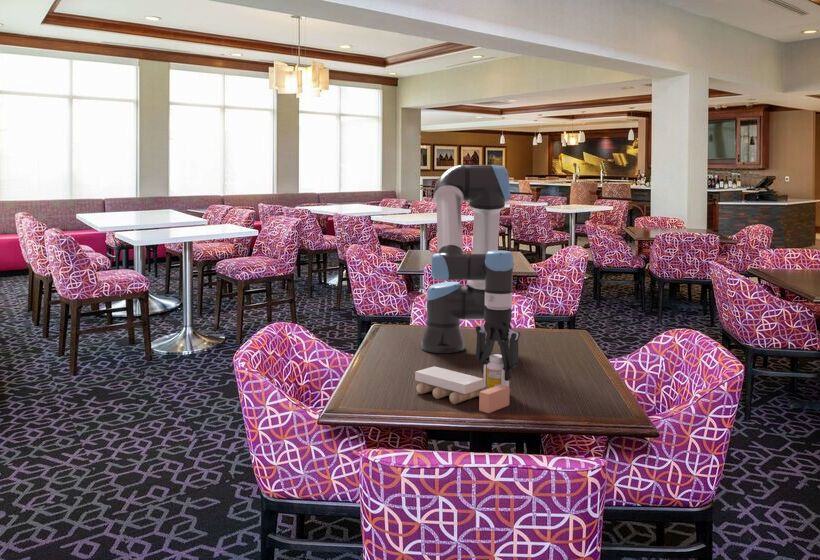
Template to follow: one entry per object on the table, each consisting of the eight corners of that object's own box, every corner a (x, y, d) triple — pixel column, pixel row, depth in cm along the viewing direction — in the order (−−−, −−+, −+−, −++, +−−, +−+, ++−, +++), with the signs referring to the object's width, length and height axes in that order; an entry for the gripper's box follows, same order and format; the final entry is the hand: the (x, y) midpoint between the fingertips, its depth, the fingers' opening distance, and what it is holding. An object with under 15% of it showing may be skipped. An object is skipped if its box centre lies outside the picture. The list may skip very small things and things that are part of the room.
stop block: (479, 410, 175) (479, 391, 175) (499, 402, 182) (500, 384, 181) (488, 413, 173) (488, 394, 172) (509, 405, 180) (509, 386, 179)
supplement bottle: (492, 385, 195) (492, 352, 193) (509, 388, 192) (510, 355, 190) (483, 390, 190) (483, 356, 189) (500, 393, 187) (501, 359, 186)
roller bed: (416, 392, 190) (416, 382, 189) (440, 385, 197) (440, 375, 196) (458, 405, 179) (458, 394, 179) (481, 396, 187) (481, 386, 186)
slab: (415, 380, 191) (415, 371, 191) (434, 374, 197) (434, 366, 196) (465, 394, 179) (465, 384, 178) (483, 387, 184) (484, 378, 184)
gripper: (463, 304, 191) (461, 384, 194) (518, 314, 178) (515, 399, 182) (479, 300, 196) (478, 378, 200) (534, 310, 184) (531, 392, 187)
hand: (495, 388), depth 191 cm, fingers closed on supplement bottle, 5 cm apart
